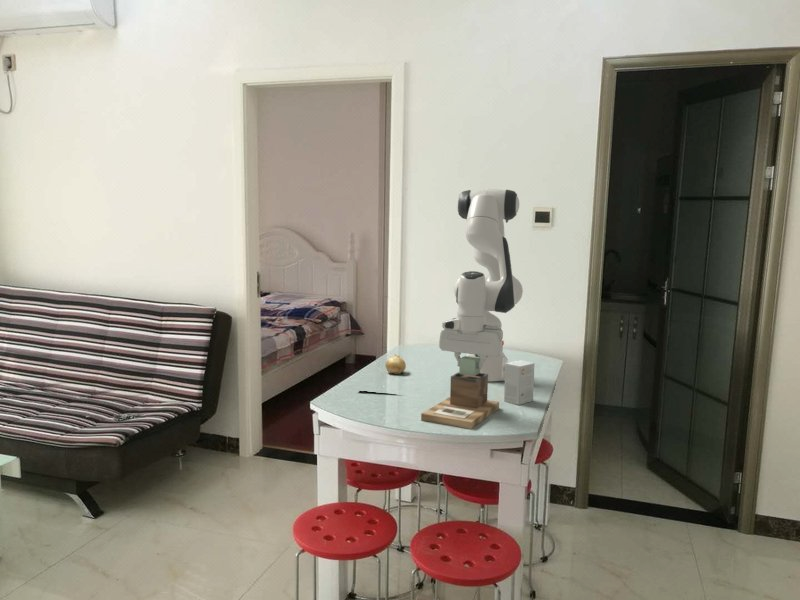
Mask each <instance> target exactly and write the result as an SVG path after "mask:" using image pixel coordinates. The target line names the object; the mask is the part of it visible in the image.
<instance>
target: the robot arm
mask: <svg viewBox="0 0 800 600" xmlns="http://www.w3.org/2000/svg"><path fill="white" fill-rule="evenodd" d="M456 209H457V212H458V213H457V214H458V215H459V216H460V217H461V218H462V219H464V220H466V223H465V236H466V237H465V238H466V240H467V242H468V243H469V244H470V245H471V246H472V247H473V252H474V253H473V258H474V260H475V262H476V263H477V264H478V265H480V266H482V267H483V268H485V269H487V271H488V274H489V275H485V274H484V273H483V272H480V271H473V270H471V271H465V272H462V273H461V274H460V276H459V277H458V278H457V280H456V282H455V284H454V287H453V289H454V290H453V292H454V296H455V299H456V300H455V301H456V303H457V305H458V310H457V313H456V315H457V316H456V317H453V318H451V319H448V320H445V321H443V322H442V324H441V327H442V329H441V332H440V335H439V342H438V343H439V344H438V345H439V346H438V347H439V349H440V350H441V351H444V352H452V353H453V354H454V358H455V359H456V361H457V367H460V358H461V355H462V354H466V356H473V357H480V362H478V363H477V369H480V373H484V374H488V383H489V382H490V383H491V382H500V381H503V382H505V363H509V361H508V357H507V356H506V354H505V353H504V351H503V350H504V348H503V347H504V345H505V341H504V340H503V339H504V338H503V337H504V331H503V330H502V327H503V326H502V322H501V319H500V318H499V317H498V316H496V315H495V314H493V313H491V312H496V313H503V314H507V313H508V312H510V311H511V310H512V309H514V308H515V307H516V305H517V304H518V303H519V302H520V301H521V299H522V297H523V292H524V291H523V284H522V283H521V281H520V280H519V279H518V278H517V277H515V276H514V274H513V272H512V271H513V270H512V269H513V268H512V263H511V254H510V253H511V252H510V249H509V243H508V239H507V238H506V237H505V223H507V224H508V222H509V221H511V220H513V219H514V218H515V217H516V216H517V214H518V212H519V209H520V200H519V197H518V193H516V191H515V190H511V189H505V190H504V189H498V188H488V189H476V190H475V189H474V190H471V189H467V190H464V191H462V192H461V193H459V194H458V197H457V201H456ZM504 221H505V222H504Z"/></svg>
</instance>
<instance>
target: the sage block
mask: <svg viewBox="0 0 800 600" xmlns="http://www.w3.org/2000/svg"><path fill="white" fill-rule="evenodd" d="M478 362H480V357H473V356H467V355H464V356H462V357H460V366H459V368H458V369H459V371H458V372H459V374H462V375H470V376H475V375H477V374H479V373H480V369H477V363H478Z"/></svg>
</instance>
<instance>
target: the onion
mask: <svg viewBox="0 0 800 600" xmlns="http://www.w3.org/2000/svg"><path fill="white" fill-rule="evenodd" d="M384 366H385V369H386V371H387V372H390V373H389V374H391V373H397V374H396V375H400V374H401V373H404V372H405V370H406V366H407V365H406V362H405V360H404V359H403V358H402V357H400V354H397V355H396V354H395V355H394V356H392V357H390V358H388V359H387V360H386V362H385V365H384Z"/></svg>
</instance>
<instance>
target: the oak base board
mask: <svg viewBox="0 0 800 600" xmlns="http://www.w3.org/2000/svg"><path fill="white" fill-rule="evenodd" d="M488 387H489V382H488V374H484V373H479V374H477V375H475V376H470V375H462V374H459V371H458V372H456V373H455V374H453V375H451V376H450V388H449V389H450V393H449V394H450V396H449V397H447V398H446V399H444V400H442V401H440V402H439V403H437V404H435V405H434V406H432V407H429V409H427V410H425V411H423V412H421V414H420V419H421V420H420V421H424V422H429V423H430V422H431V423H435V424H441V425H447V426H451V427H458V428H459V427H460V428H464V429H469V430H472V429H473V428H474V427H476V426H477V425H479V424H480V423H481V422H482V421H484V420H485V419H486V418H488V417H489V416H490V415H492V414H493V413H494V412H496V411H497V410H498V409H500V401H495V400H488V391H489V388H488Z"/></svg>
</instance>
